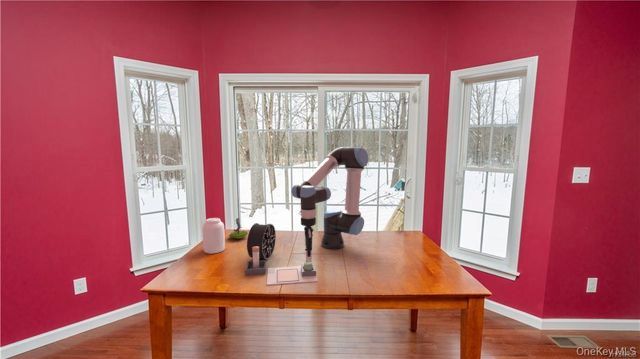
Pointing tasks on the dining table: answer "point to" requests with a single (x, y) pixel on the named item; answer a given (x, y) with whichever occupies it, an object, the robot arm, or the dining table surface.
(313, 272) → the button housing
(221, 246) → the white jar
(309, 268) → the button cap
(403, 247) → the dining table surface
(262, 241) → the wheel rim
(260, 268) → the marker tray
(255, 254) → the marker
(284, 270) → the board
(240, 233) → the figurine
